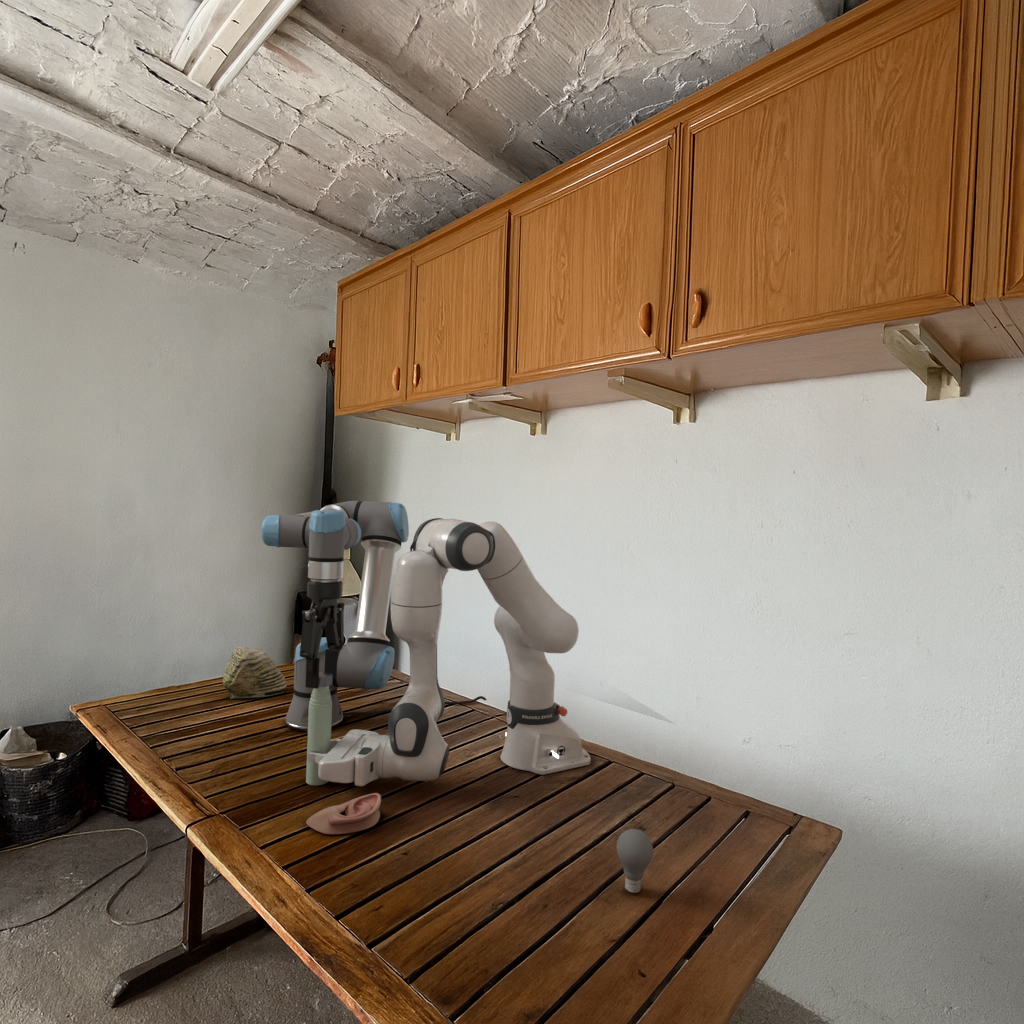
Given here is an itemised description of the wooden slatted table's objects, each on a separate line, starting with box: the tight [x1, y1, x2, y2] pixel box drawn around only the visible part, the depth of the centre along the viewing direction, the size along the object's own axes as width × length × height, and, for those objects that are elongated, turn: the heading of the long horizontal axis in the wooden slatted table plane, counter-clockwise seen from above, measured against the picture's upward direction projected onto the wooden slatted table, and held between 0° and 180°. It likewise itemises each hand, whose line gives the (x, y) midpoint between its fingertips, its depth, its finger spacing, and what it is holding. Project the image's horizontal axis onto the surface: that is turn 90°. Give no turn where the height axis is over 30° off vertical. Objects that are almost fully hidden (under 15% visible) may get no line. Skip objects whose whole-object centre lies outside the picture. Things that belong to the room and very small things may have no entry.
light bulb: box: [615, 828, 654, 894], centre depth 106 cm, size 6×6×10 cm
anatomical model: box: [305, 792, 382, 835], centre depth 124 cm, size 13×4×12 cm
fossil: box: [222, 646, 288, 699], centre depth 198 cm, size 9×18×15 cm, turn 132°
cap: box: [319, 672, 333, 687], centre depth 141 cm, size 5×5×2 cm
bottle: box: [305, 686, 332, 786], centre depth 141 cm, size 5×5×23 cm
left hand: (321, 682), depth 141 cm, fingers open, 7 cm apart
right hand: (314, 750), depth 141 cm, fingers closed on bottle, 5 cm apart
